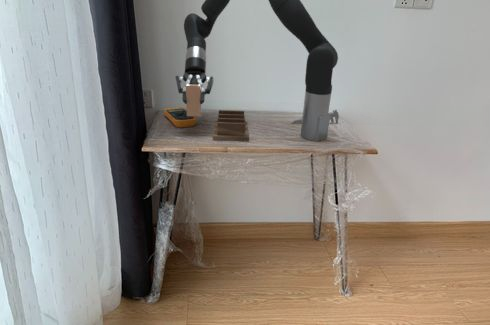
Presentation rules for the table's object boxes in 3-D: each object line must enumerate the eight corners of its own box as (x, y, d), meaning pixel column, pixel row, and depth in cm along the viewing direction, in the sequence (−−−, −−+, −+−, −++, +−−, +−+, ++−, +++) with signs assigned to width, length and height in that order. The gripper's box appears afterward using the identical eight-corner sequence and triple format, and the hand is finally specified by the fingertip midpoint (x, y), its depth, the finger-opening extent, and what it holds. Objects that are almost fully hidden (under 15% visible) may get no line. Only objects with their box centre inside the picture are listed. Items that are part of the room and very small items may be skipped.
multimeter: (176, 129, 139) (176, 120, 138) (163, 116, 154) (163, 108, 152) (197, 126, 143) (197, 118, 142) (183, 114, 157) (182, 106, 156)
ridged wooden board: (215, 123, 147) (215, 108, 144) (247, 124, 148) (247, 109, 145) (212, 140, 130) (213, 124, 127) (249, 141, 130) (249, 125, 128)
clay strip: (187, 114, 133) (186, 84, 128) (201, 114, 133) (200, 84, 128) (186, 116, 130) (185, 85, 126) (200, 116, 130) (200, 86, 126)
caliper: (336, 123, 155) (339, 109, 152) (337, 124, 154) (339, 109, 151) (290, 123, 152) (291, 108, 150) (290, 124, 151) (292, 109, 149)
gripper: (174, 55, 130) (171, 96, 124) (214, 56, 130) (213, 97, 124) (177, 67, 137) (174, 107, 131) (215, 68, 137) (214, 108, 131)
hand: (193, 102), depth 128 cm, fingers closed on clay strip, 5 cm apart
